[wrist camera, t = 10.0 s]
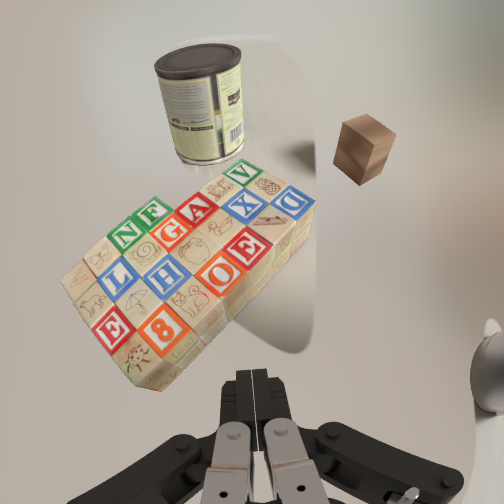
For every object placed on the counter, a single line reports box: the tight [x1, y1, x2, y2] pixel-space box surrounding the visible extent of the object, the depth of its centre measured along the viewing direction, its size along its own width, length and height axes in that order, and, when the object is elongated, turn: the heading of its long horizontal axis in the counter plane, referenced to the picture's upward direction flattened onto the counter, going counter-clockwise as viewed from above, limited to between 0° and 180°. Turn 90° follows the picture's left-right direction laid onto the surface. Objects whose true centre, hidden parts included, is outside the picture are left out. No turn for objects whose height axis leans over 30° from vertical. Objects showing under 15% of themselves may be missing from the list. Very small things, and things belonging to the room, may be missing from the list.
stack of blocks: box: [61, 159, 316, 392], centre depth 25 cm, size 21×6×12 cm
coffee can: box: [154, 43, 245, 165], centre depth 33 cm, size 10×10×14 cm
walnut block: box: [333, 114, 396, 186], centre depth 33 cm, size 5×5×7 cm
